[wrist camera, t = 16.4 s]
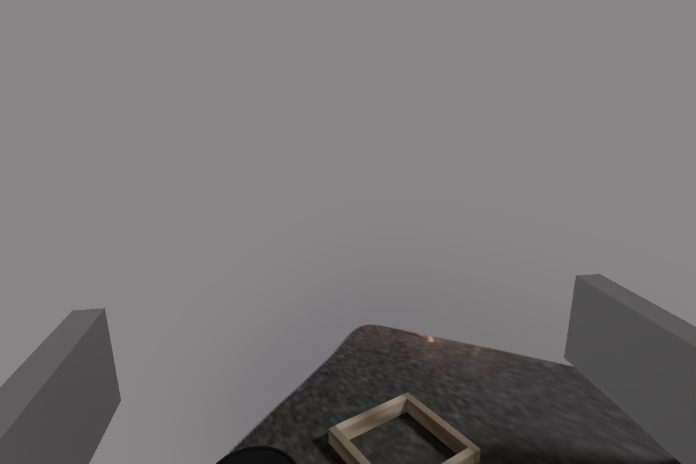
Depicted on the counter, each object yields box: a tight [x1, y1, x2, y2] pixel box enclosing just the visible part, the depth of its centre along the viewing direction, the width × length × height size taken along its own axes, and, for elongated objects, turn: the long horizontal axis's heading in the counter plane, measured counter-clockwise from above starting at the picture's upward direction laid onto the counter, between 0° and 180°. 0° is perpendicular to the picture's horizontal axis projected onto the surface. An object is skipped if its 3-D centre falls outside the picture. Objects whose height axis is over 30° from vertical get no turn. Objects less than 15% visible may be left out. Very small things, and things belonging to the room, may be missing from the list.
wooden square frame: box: [329, 392, 481, 464], centre depth 46 cm, size 11×11×2 cm
